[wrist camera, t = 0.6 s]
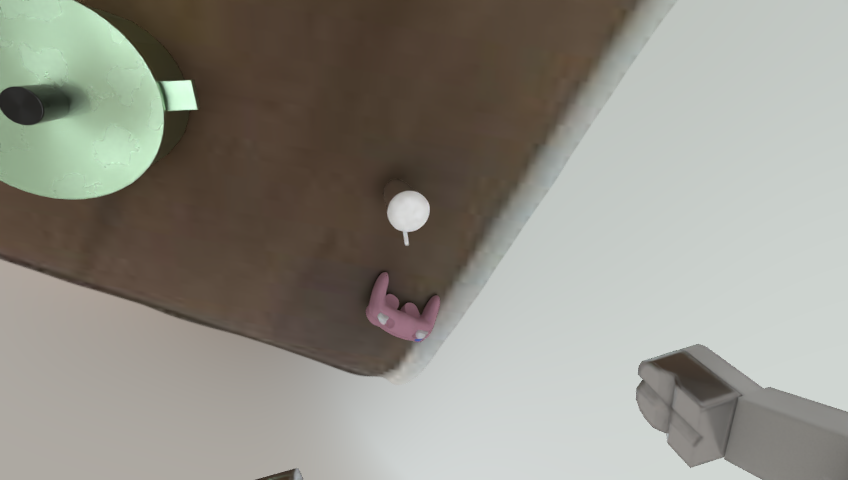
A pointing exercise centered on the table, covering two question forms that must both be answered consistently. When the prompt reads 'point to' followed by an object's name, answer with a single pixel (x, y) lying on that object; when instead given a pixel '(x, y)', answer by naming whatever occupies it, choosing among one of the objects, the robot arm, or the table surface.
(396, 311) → the video game controller
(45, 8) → the lid
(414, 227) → the milkshake
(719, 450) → the robot arm
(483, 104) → the table surface
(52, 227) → the table surface
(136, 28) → the pot
